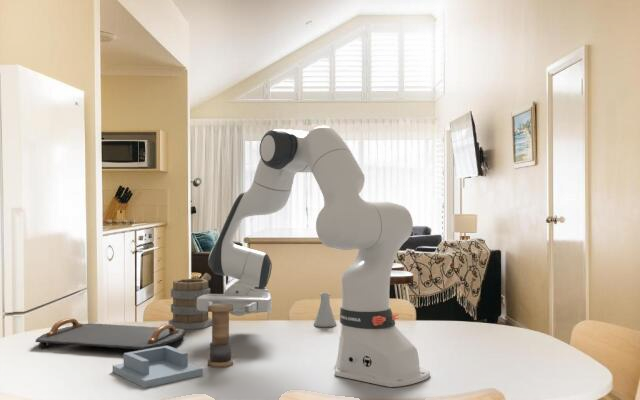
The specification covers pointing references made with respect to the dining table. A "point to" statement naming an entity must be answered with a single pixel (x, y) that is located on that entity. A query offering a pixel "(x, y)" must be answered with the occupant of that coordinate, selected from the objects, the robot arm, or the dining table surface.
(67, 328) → the serving board
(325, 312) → the flask
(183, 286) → the tankard
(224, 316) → the bobbin
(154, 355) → the notched block
